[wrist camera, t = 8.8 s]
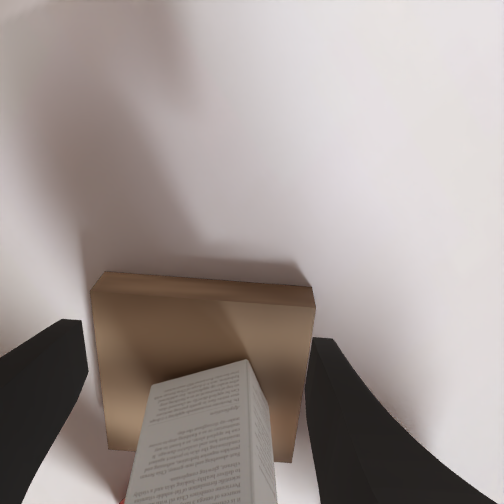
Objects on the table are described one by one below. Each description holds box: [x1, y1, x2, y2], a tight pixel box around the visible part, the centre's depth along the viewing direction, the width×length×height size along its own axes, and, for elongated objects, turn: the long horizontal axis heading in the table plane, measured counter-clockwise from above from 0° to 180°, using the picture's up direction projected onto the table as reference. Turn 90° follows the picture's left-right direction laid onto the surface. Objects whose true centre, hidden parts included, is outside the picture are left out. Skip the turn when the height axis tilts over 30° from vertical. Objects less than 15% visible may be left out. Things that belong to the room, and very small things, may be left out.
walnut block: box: [90, 272, 316, 463], centre depth 26 cm, size 12×12×3 cm
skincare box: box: [124, 359, 278, 504], centre depth 19 cm, size 6×4×12 cm
